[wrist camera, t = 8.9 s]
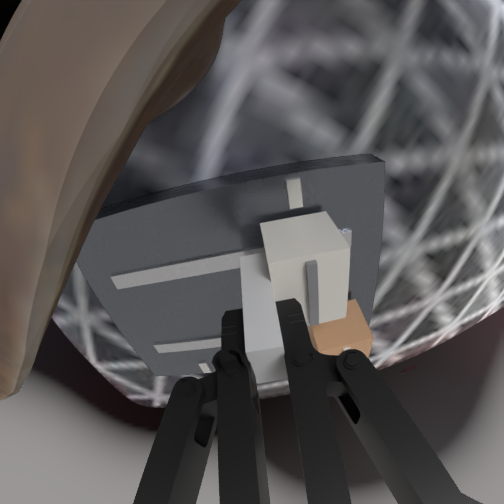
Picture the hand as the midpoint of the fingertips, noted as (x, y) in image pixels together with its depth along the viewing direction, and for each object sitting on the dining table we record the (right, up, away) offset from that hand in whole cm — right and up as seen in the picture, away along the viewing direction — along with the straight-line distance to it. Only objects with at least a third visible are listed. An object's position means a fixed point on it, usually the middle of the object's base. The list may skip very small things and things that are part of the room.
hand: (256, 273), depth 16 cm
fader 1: (+3, +1, +1) cm, 3 cm away
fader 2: (+6, -5, +5) cm, 10 cm away
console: (-1, -1, +6) cm, 6 cm away
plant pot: (-8, +14, -5) cm, 17 cm away
